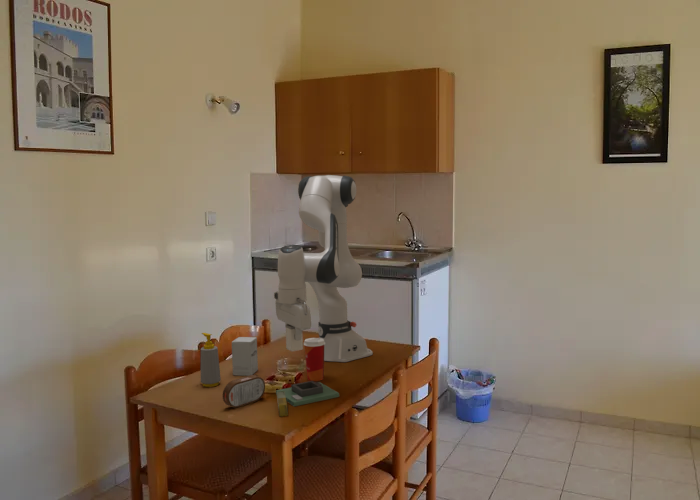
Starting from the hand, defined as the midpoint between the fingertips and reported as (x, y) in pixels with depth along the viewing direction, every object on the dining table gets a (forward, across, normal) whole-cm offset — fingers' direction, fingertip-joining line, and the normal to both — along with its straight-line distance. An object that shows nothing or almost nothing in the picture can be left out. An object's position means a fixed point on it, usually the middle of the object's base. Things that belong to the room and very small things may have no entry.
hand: (294, 338), depth 207 cm
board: (+19, -2, -3) cm, 19 cm away
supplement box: (+19, +32, +6) cm, 38 cm away
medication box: (+19, -10, +9) cm, 23 cm away
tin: (+19, +1, +17) cm, 26 cm away
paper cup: (+19, +12, -12) cm, 26 cm away
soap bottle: (+19, +26, +21) cm, 38 cm away
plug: (+4, 0, 0) cm, 4 cm away
